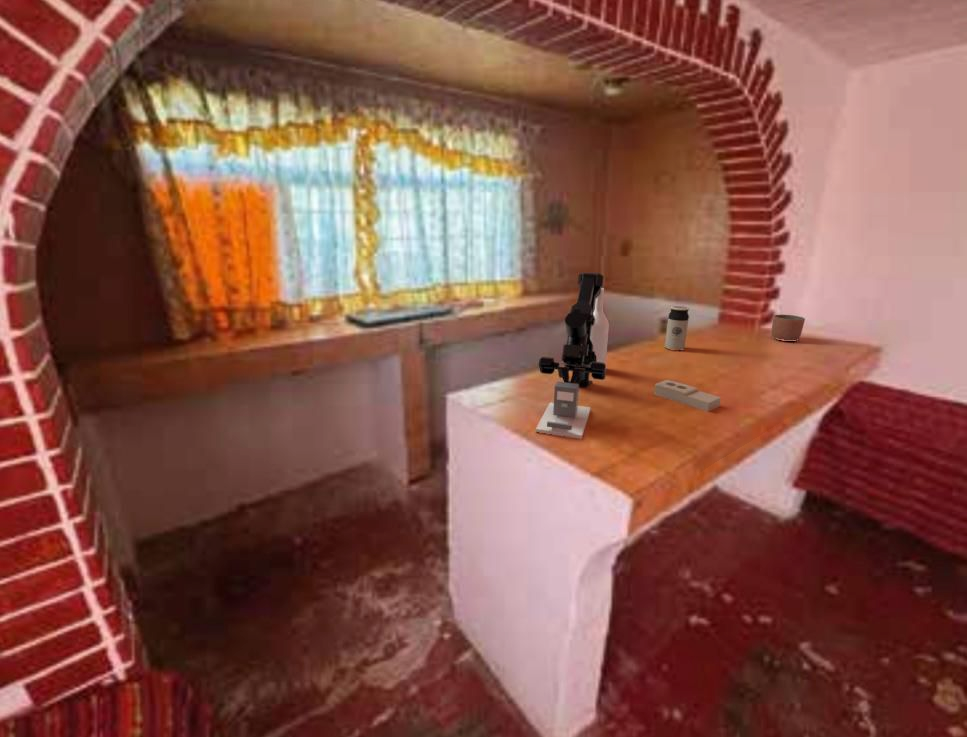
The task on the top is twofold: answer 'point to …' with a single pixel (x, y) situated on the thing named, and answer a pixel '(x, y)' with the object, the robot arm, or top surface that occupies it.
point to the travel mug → (677, 328)
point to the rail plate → (564, 423)
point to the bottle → (600, 330)
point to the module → (566, 399)
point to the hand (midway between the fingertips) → (567, 394)
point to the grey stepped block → (686, 395)
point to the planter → (787, 327)
